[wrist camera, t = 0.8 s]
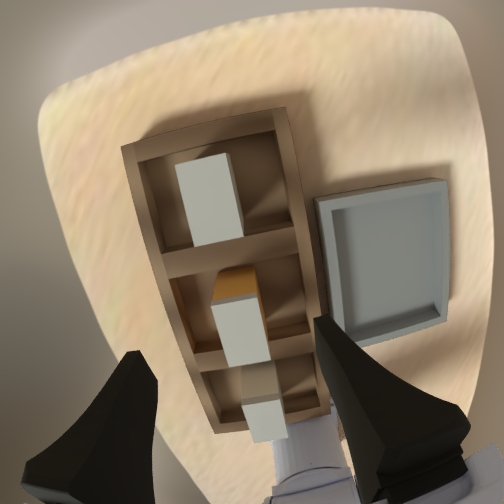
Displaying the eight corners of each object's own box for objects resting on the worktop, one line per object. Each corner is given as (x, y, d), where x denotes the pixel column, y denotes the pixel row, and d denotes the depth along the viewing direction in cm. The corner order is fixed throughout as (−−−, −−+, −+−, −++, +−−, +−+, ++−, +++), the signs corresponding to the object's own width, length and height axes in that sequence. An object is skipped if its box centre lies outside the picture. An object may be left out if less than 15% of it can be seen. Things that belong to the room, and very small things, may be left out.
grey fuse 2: (281, 394, 30) (288, 437, 24) (252, 399, 30) (254, 443, 24) (273, 355, 29) (279, 399, 23) (241, 361, 29) (241, 405, 23)
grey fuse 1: (243, 217, 25) (243, 236, 19) (205, 225, 25) (194, 246, 19) (229, 153, 23) (225, 152, 18) (191, 162, 23) (174, 165, 18)
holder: (325, 396, 31) (331, 414, 29) (216, 415, 32) (214, 433, 29) (280, 111, 23) (285, 106, 21) (132, 147, 24) (120, 146, 21)
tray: (436, 311, 29) (446, 321, 27) (332, 340, 29) (337, 353, 27) (433, 177, 25) (447, 180, 23) (313, 197, 25) (319, 201, 23)
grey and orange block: (265, 319, 27) (270, 360, 22) (231, 325, 28) (228, 367, 22) (254, 265, 26) (257, 297, 20) (217, 273, 26) (210, 306, 20)
